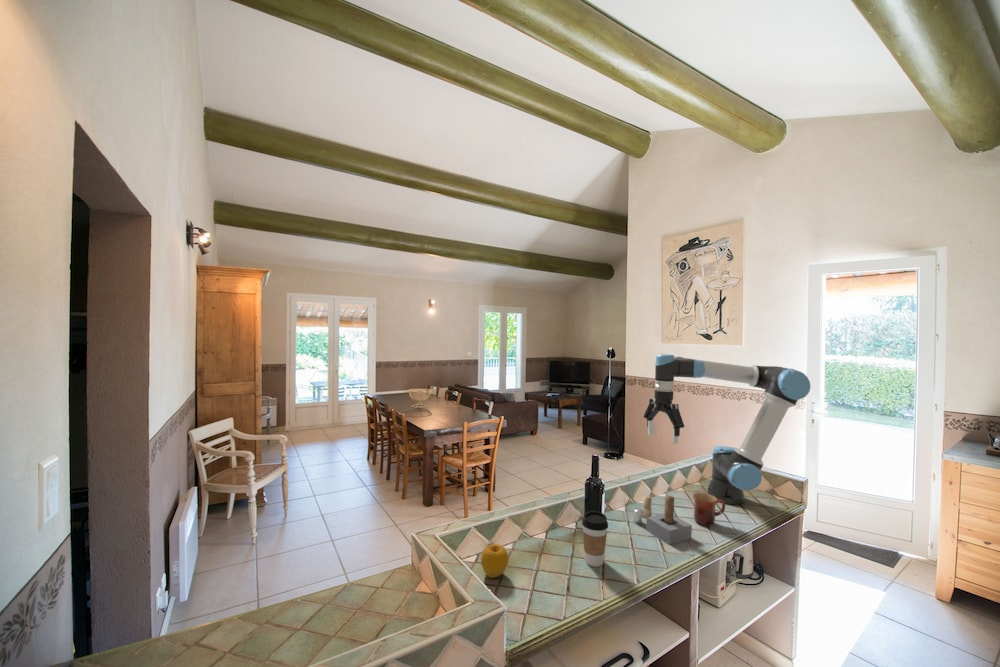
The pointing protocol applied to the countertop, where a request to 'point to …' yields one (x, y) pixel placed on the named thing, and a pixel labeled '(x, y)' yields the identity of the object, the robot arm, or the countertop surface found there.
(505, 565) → the apple
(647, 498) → the beech pin
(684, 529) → the hole block
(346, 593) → the countertop surface
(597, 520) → the coffee cup
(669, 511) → the walnut pin
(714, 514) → the mug
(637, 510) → the steel pin
